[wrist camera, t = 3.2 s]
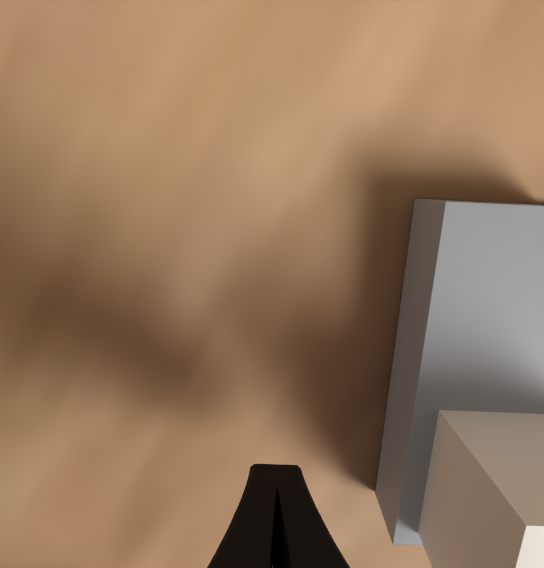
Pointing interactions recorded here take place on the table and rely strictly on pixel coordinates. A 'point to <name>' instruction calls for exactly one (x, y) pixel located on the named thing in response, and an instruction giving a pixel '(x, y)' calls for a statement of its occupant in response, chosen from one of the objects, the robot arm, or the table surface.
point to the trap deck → (460, 337)
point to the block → (485, 491)
